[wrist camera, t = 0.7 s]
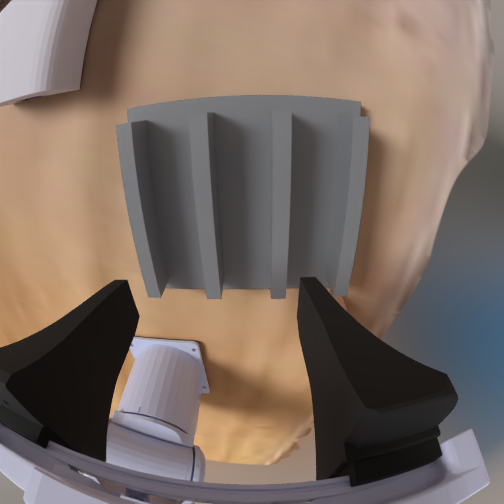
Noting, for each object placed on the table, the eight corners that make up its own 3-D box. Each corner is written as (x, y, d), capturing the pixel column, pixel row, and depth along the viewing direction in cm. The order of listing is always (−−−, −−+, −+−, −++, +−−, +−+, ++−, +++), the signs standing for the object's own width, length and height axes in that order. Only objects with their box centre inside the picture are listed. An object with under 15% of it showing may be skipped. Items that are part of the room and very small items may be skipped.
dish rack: (338, 279, 22) (349, 306, 19) (159, 281, 22) (146, 307, 19) (355, 102, 15) (376, 101, 12) (133, 108, 16) (109, 110, 13)
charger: (125, -59, 8) (84, 90, 15) (45, -29, 7) (12, 104, 14) (101, -81, 3) (45, 91, 11) (16, -39, 3) (-24, 112, 10)
